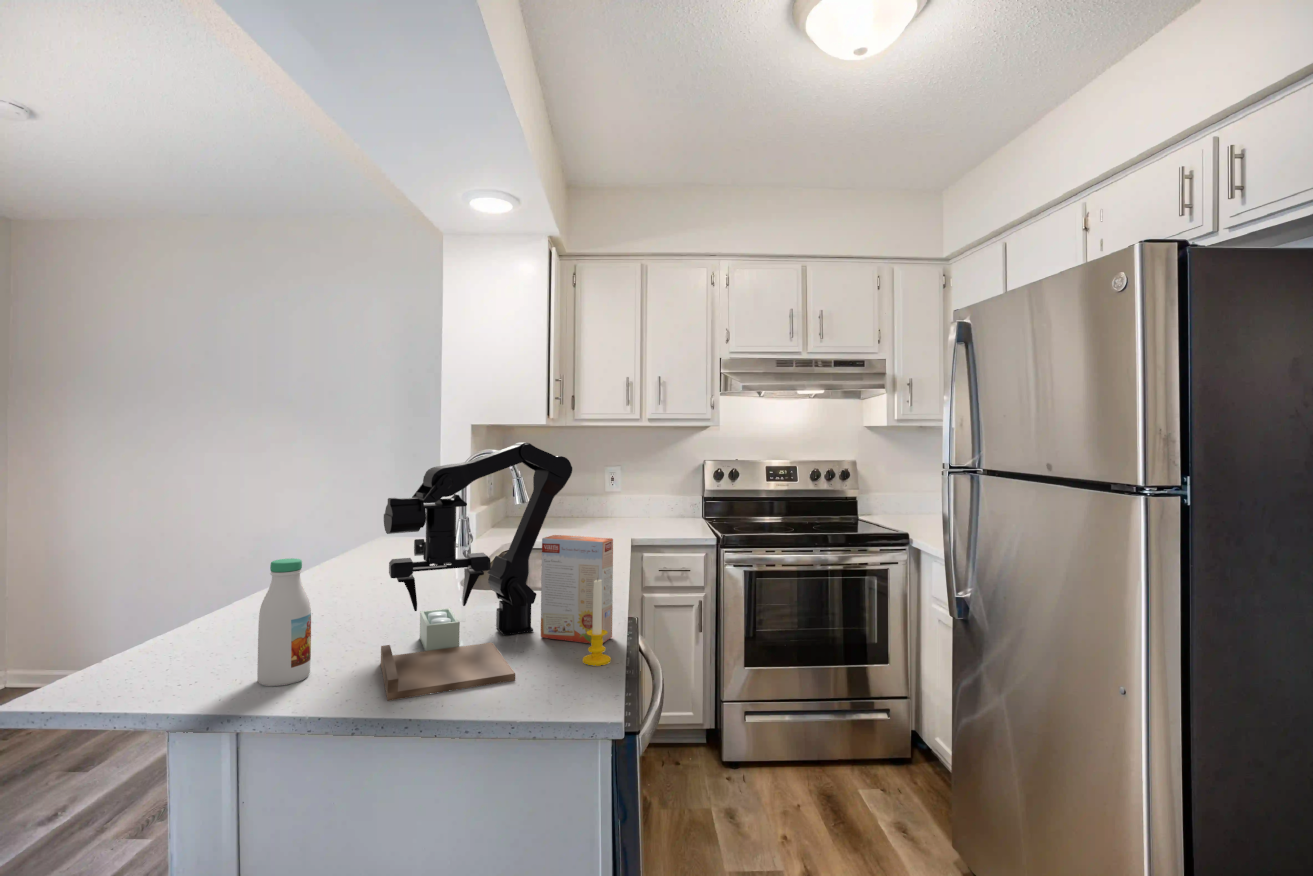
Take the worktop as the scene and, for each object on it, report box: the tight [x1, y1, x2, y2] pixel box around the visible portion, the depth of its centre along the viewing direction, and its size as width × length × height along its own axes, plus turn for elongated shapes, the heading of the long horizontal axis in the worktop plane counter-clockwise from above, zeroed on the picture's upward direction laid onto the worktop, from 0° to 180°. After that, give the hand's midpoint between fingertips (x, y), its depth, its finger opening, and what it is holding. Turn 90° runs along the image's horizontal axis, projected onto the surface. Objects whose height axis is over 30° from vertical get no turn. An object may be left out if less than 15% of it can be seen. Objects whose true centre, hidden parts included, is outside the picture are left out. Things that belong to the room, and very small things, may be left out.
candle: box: [582, 579, 612, 667], centre depth 116 cm, size 5×5×16 cm
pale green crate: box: [419, 607, 461, 651], centre depth 125 cm, size 6×11×6 cm, turn 27°
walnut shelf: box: [380, 642, 516, 702], centre depth 110 cm, size 20×18×3 cm
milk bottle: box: [257, 557, 312, 687], centre depth 106 cm, size 8×8×20 cm
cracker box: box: [540, 534, 614, 644], centre depth 130 cm, size 14×6×21 cm, turn 71°
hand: (440, 608), depth 125 cm, fingers open, 9 cm apart
